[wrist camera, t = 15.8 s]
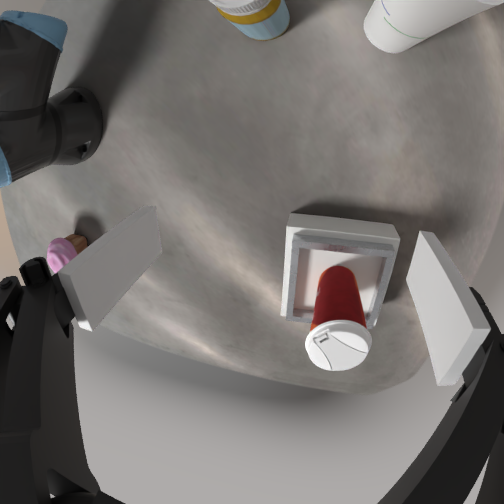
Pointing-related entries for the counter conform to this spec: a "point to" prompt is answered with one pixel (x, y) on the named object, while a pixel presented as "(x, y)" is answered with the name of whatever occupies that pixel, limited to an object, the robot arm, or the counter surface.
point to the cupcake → (64, 250)
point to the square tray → (336, 261)
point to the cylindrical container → (416, 20)
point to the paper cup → (338, 322)
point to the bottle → (256, 17)
